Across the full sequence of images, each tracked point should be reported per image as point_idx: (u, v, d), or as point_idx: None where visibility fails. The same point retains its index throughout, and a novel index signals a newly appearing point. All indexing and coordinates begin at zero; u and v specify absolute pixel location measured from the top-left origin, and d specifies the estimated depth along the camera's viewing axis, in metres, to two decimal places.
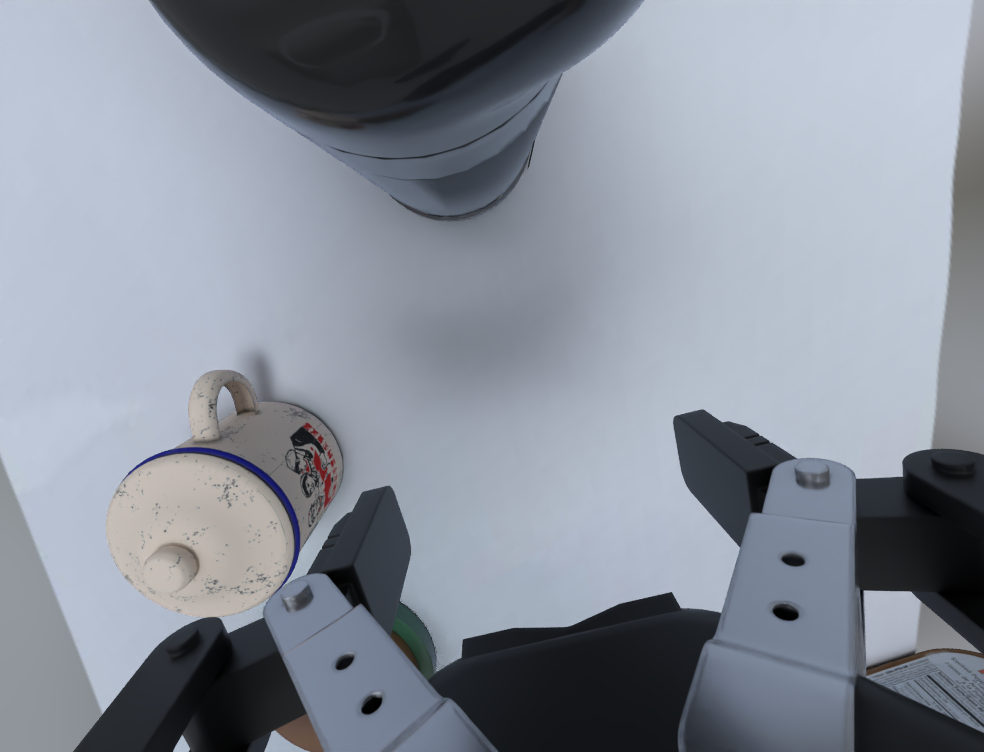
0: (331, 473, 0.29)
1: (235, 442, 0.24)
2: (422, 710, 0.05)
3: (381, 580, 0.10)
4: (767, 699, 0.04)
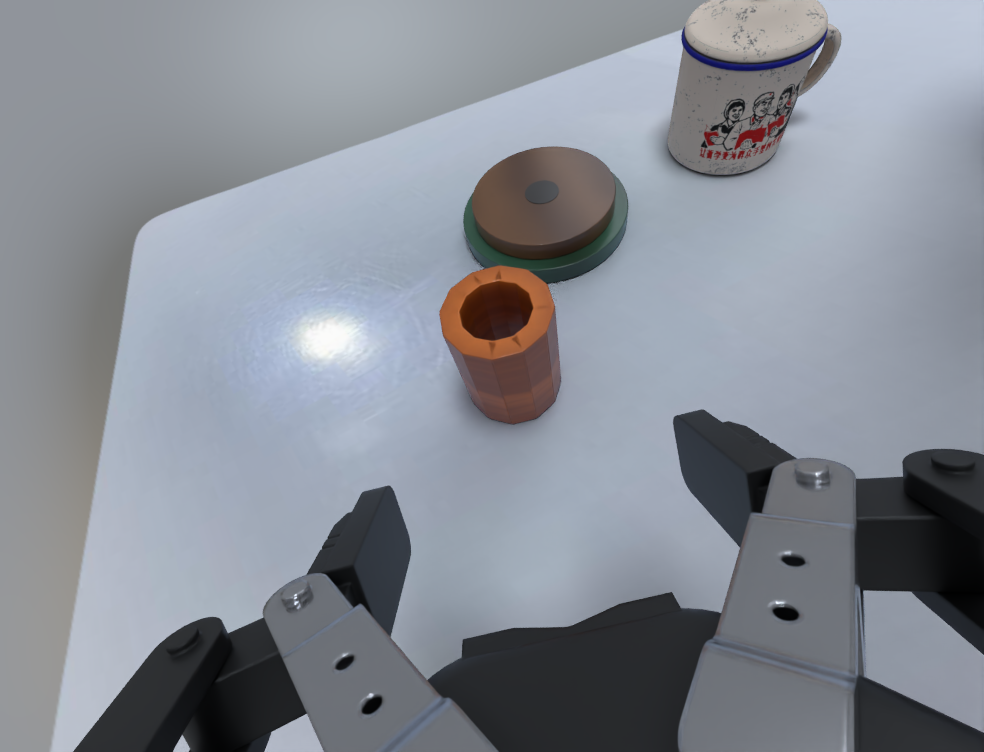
0: (759, 144, 0.35)
1: None
2: (422, 710, 0.05)
3: (381, 579, 0.11)
4: (767, 699, 0.04)
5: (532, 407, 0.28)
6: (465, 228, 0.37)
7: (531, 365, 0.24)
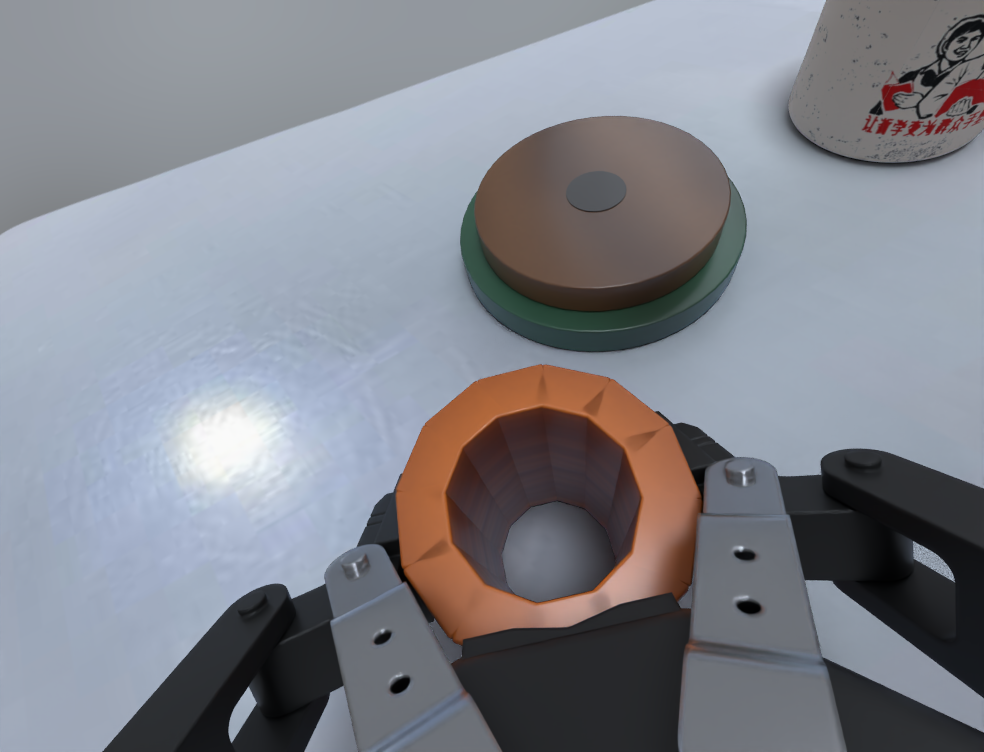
0: (981, 106, 0.20)
1: None
2: (444, 700, 0.05)
3: None
4: (767, 699, 0.04)
5: None
6: (463, 252, 0.22)
7: None
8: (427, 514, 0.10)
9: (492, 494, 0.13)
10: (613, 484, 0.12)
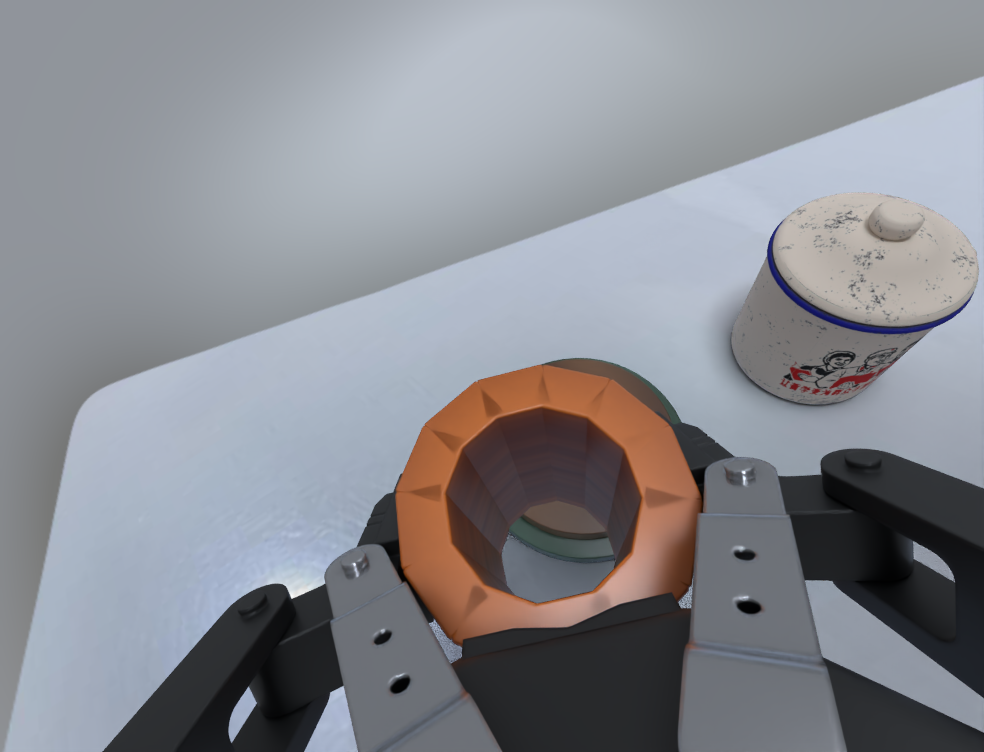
0: (862, 383, 0.27)
1: None
2: (444, 700, 0.05)
3: None
4: (767, 699, 0.04)
5: None
6: None
7: None
8: (427, 515, 0.10)
9: (492, 494, 0.13)
10: (613, 484, 0.12)
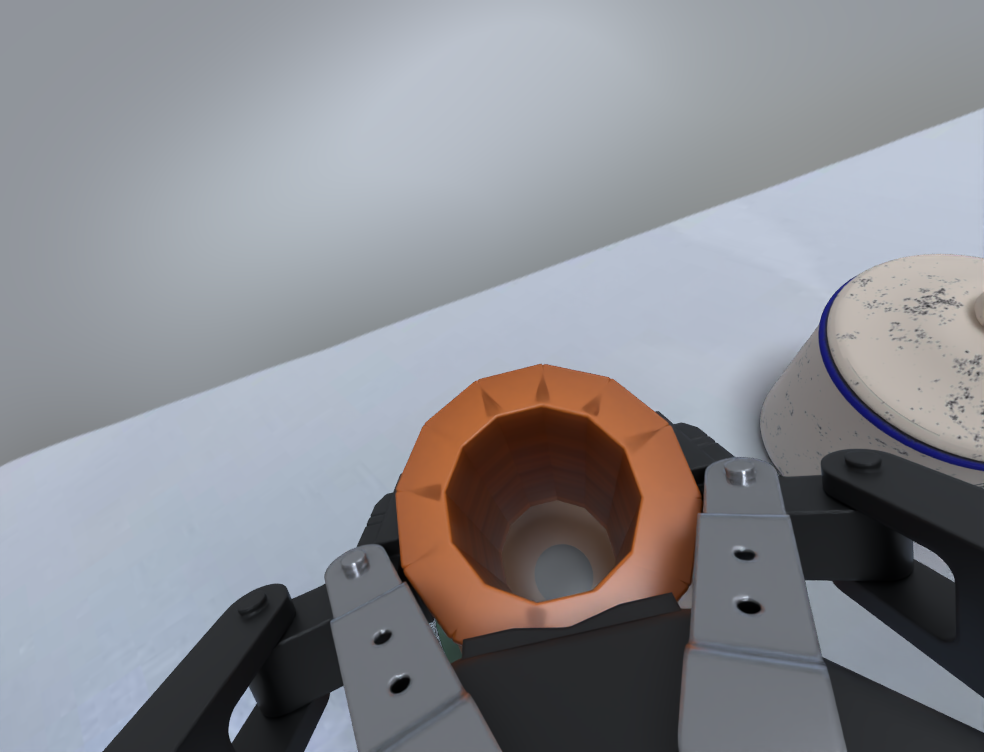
0: None
1: None
2: (444, 700, 0.05)
3: None
4: (767, 699, 0.04)
5: None
6: None
7: None
8: (427, 514, 0.10)
9: (492, 494, 0.13)
10: (613, 484, 0.12)
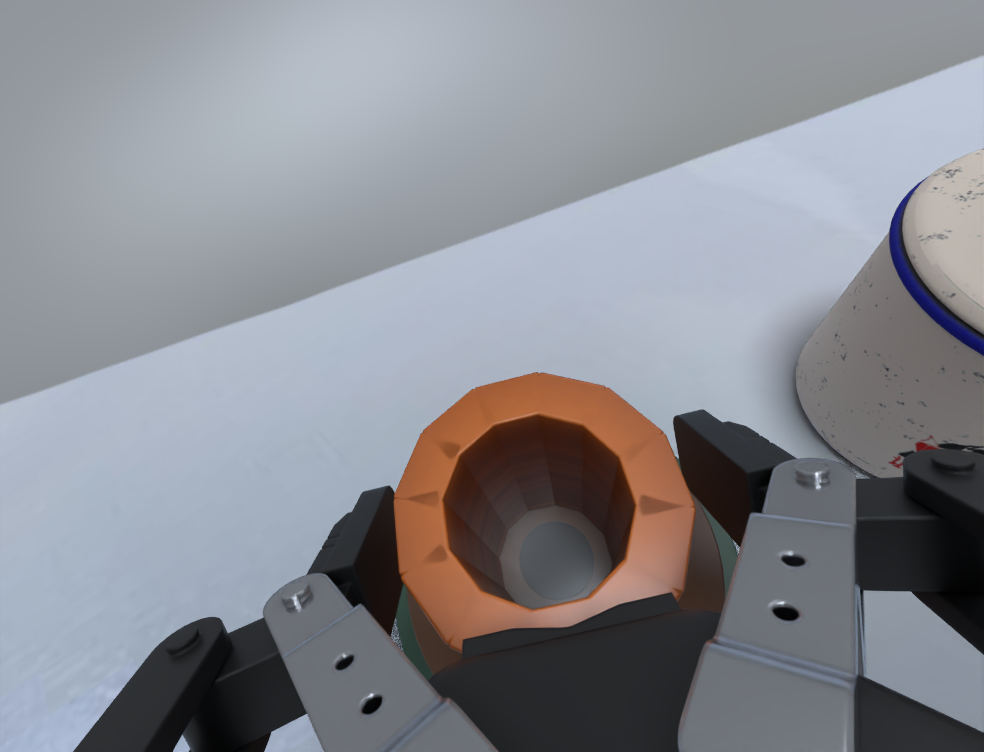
0: None
1: None
2: (422, 710, 0.05)
3: (381, 580, 0.10)
4: (767, 699, 0.04)
5: None
6: None
7: None
8: (424, 521, 0.10)
9: (490, 499, 0.14)
10: (609, 490, 0.12)
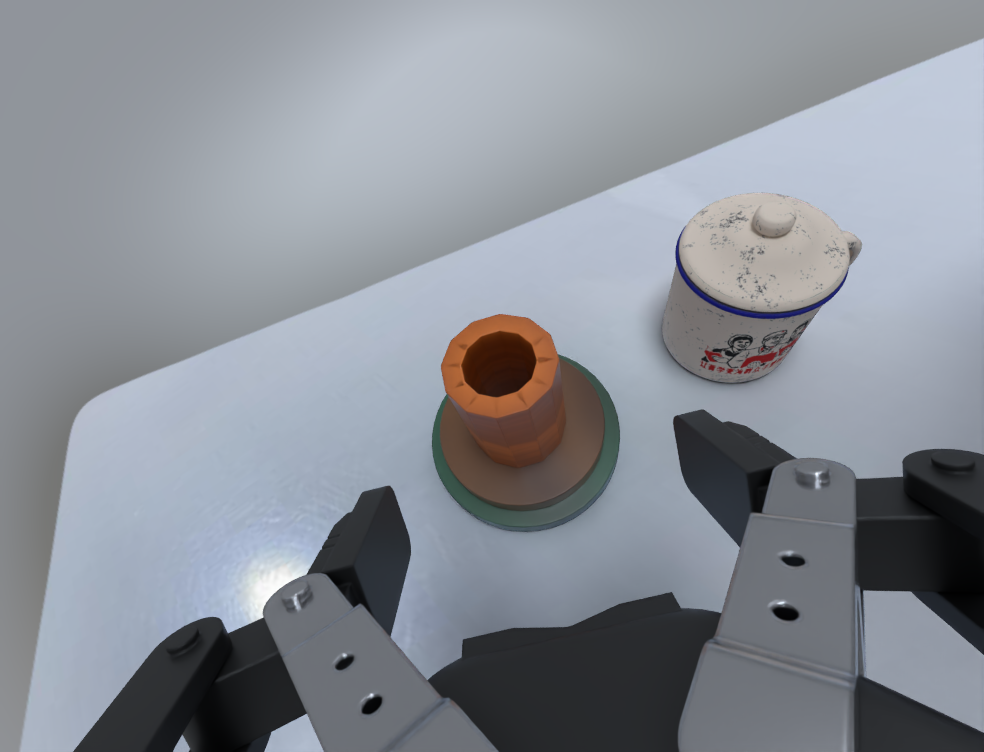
0: (769, 362, 0.30)
1: None
2: (422, 710, 0.05)
3: (381, 580, 0.10)
4: (767, 699, 0.04)
5: (538, 452, 0.28)
6: (434, 454, 0.33)
7: (537, 418, 0.24)
8: (454, 373, 0.24)
9: (482, 381, 0.28)
10: None
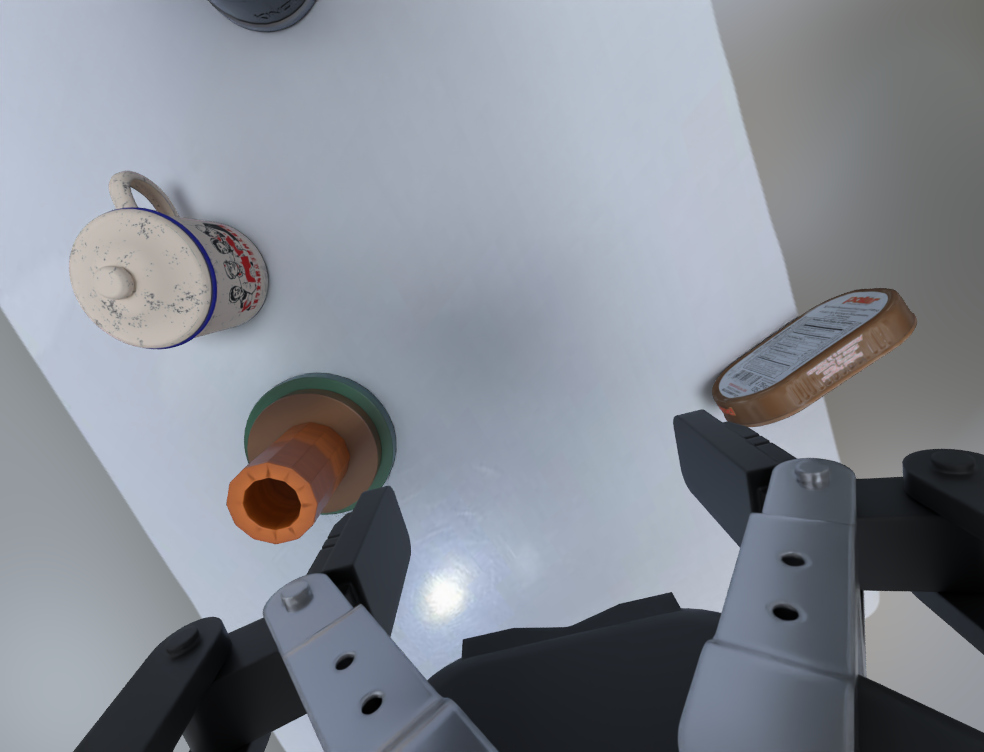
0: (249, 258, 0.36)
1: None
2: (422, 710, 0.05)
3: (381, 579, 0.11)
4: (767, 699, 0.04)
5: (338, 448, 0.38)
6: (342, 511, 0.42)
7: (314, 469, 0.33)
8: (282, 534, 0.32)
9: (282, 498, 0.36)
10: None
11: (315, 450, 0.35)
